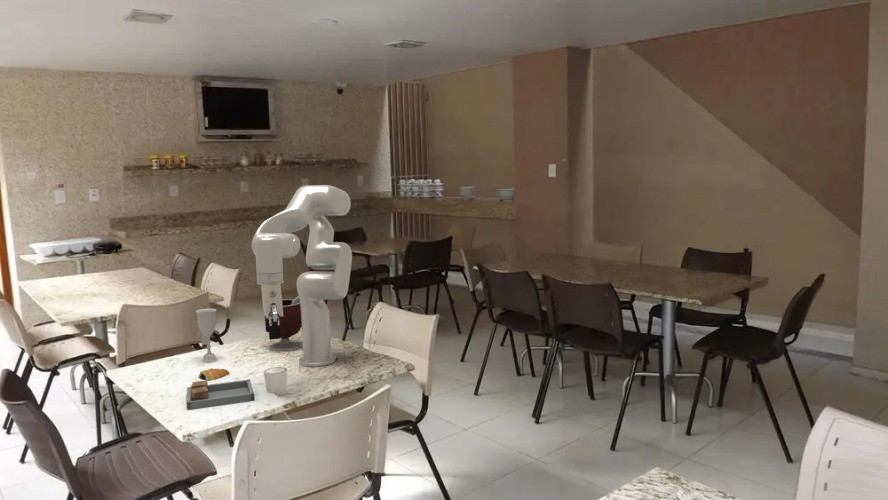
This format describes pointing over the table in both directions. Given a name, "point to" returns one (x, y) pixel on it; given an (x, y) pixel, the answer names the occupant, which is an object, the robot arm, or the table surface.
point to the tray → (223, 394)
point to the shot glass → (276, 380)
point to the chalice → (207, 329)
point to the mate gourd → (289, 326)
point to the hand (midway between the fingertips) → (273, 335)
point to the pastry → (213, 374)
